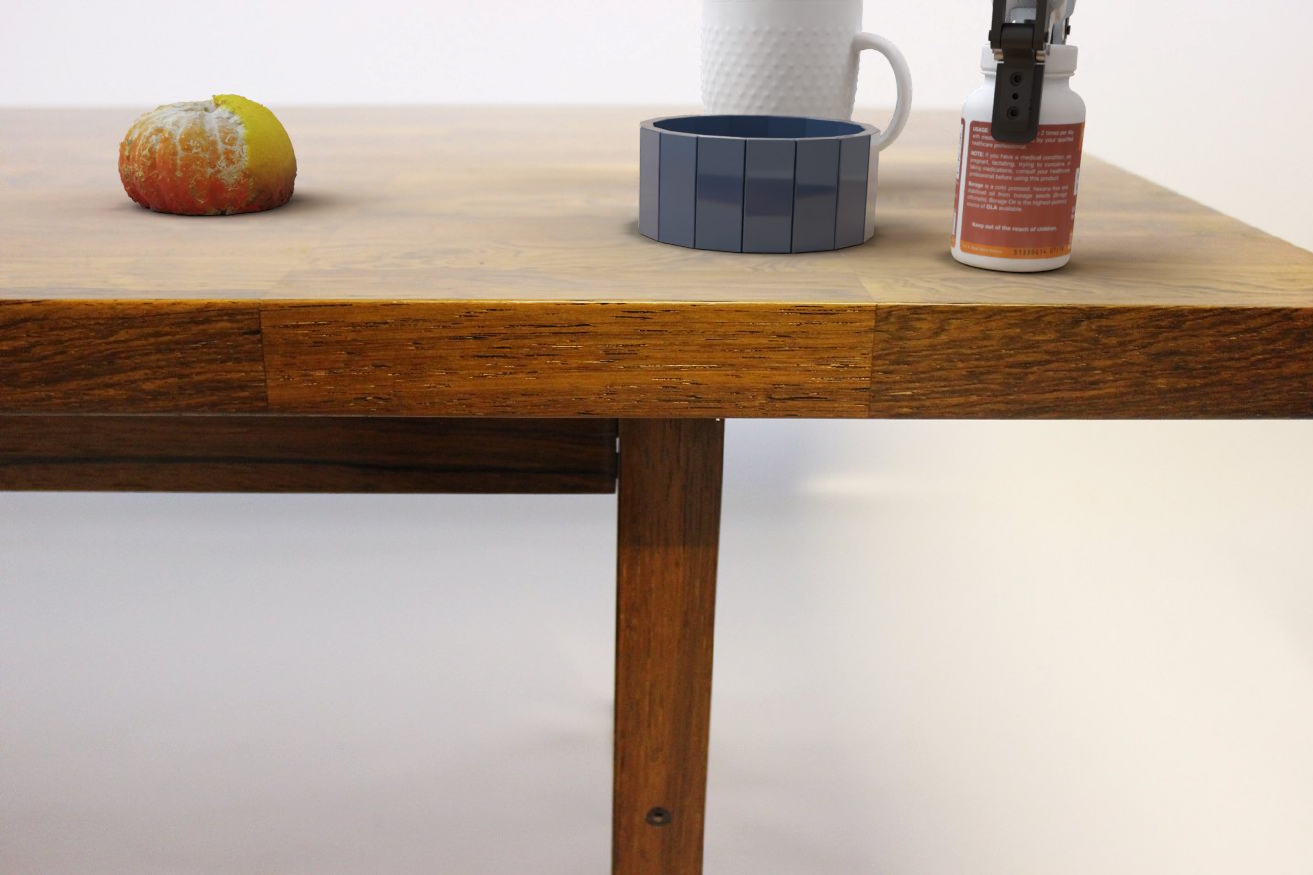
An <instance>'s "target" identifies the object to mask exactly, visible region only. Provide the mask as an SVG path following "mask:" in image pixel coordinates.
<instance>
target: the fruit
mask: <svg viewBox="0 0 1313 875" xmlns="http://www.w3.org/2000/svg"><path fill="white" fill-rule="evenodd" d="M211 97H212V98H210V99H206V100H204V101H202V100H201V101H199V100H197V101H194V100H193V101H192V100H191V101H177V102H173V103H169V104H161V105H158V106H157V107H156V109H154V110H153V111H149V112H144V113H142V114H141V115H139V116H138V117H137V118H136V119H135V120H133V123H132V125H131V126H130V128H129V129H128V130H127V132H126V134H125V136H124V139H123V141H121V142H118V143H119V148H118V152H119V156H118V163H117V165H118V167H117V168H118V171H117V172H118V174H119V178H120V181H121V183H122V185H123V189H124V192H126V193H127V194H126V195H127V197H128V198H130V199H131V200H132V201H133V203H134V204H136V203H138V204H139V205H140V207H142V208H150V209H149V211H152V212H157V213H164V214H166V213H171V214H174V215H186V216H215V215H222V216H223V215H224V216H229V215H236V214H243V213H252V212H261V211H266V210H272V209H274V208H277V207H279V206H280V207H281V206H284V204H287V203H288V202H290V199H291V198H292V197H293V194H294V192H295V185H296V183H295V182H296V178H297V176H298V174H297V172H298V163H297V158H296V154H295V149H294V146H293V143H292V141H291V138H290V136H289V133H288V131H287V130H286V129H285V126H283V124H282V122H281V121H280V120H279V119H278V118H277V116H276V115H275V114H274V113H273V111H272V110H270V109H269V108H268V107H266V106H264V105H263V104H262V103H259V102H256V101H253V100H252V99H248V98H247V97H245V96H242V95H238V94H235V93H234V94H233V93H229V94H225V93H224V94H212V95H211Z"/></svg>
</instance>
